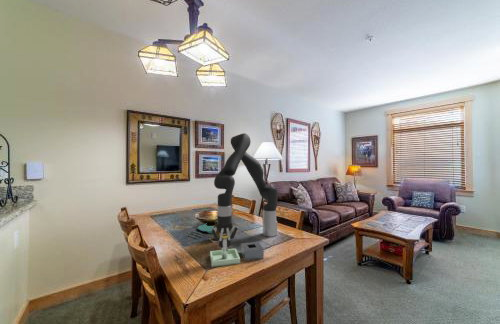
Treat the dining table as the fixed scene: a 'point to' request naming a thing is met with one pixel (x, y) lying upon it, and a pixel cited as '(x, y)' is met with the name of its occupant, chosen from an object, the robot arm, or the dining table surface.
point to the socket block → (252, 251)
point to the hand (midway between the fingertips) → (224, 246)
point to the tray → (218, 261)
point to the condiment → (216, 233)
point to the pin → (224, 246)
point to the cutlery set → (202, 228)
